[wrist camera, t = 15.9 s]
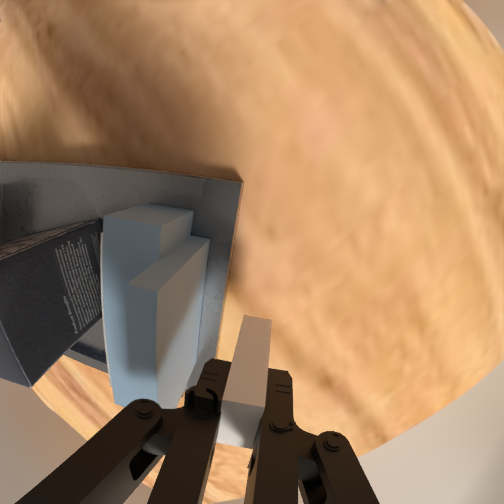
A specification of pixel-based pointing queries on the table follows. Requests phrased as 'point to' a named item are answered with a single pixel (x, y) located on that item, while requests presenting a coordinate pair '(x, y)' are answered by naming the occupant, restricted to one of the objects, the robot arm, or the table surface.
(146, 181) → the vise
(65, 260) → the small box
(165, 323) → the sliding jaw
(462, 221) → the table surface
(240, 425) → the robot arm
